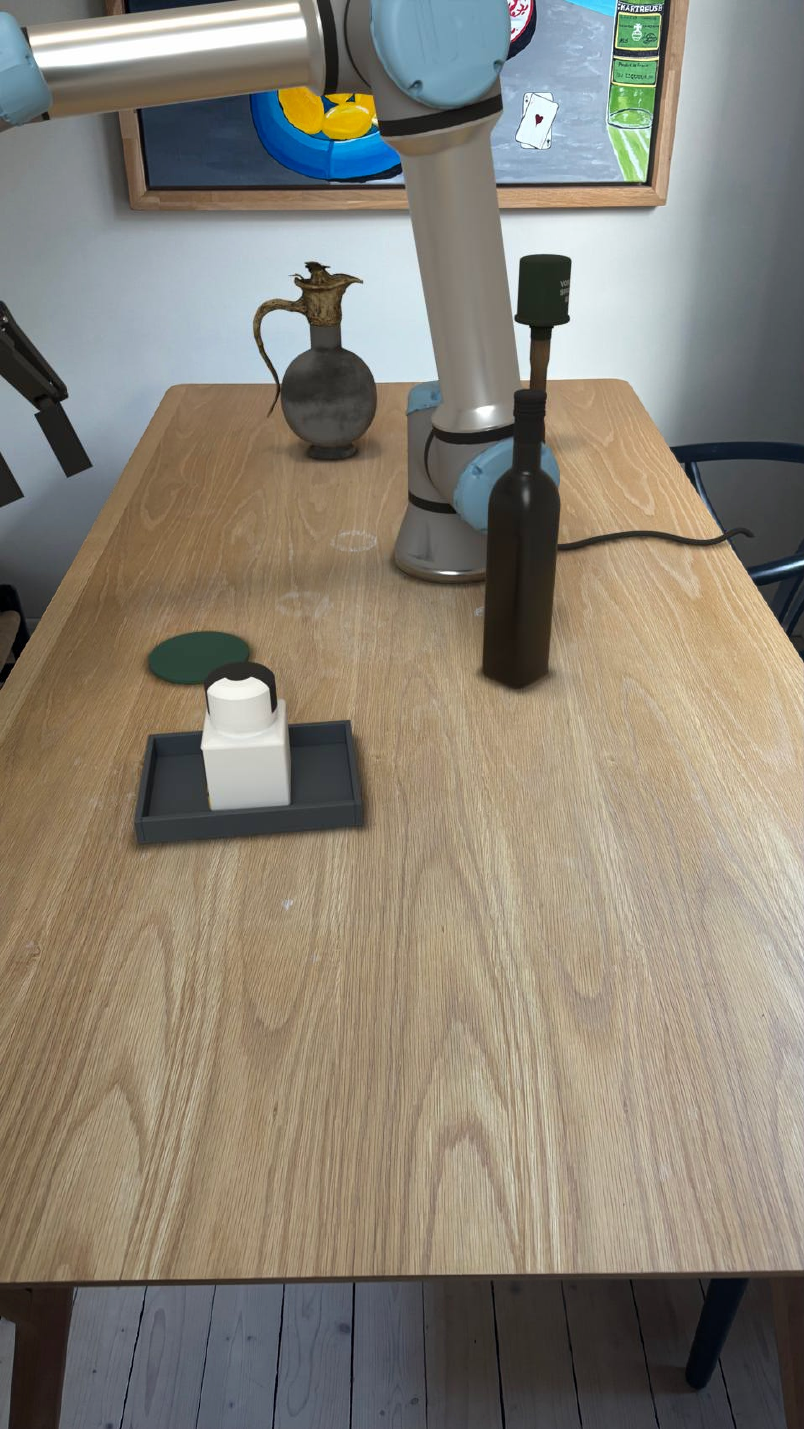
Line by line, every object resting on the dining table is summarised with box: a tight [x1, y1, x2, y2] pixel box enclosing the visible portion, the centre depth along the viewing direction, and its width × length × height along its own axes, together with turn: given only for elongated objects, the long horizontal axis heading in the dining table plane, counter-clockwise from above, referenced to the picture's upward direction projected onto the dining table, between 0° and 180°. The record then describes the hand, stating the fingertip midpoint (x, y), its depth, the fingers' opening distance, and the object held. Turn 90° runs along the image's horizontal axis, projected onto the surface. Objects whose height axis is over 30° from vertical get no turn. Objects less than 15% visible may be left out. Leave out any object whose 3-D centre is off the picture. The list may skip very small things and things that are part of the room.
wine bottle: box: [481, 388, 562, 690], centre depth 102 cm, size 6×6×30 cm
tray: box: [133, 719, 364, 845], centre depth 93 cm, size 19×13×2 cm
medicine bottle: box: [201, 661, 291, 811], centre depth 90 cm, size 7×7×12 cm
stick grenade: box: [513, 253, 573, 444], centre depth 162 cm, size 8×9×30 cm
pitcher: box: [252, 260, 378, 461], centre depth 163 cm, size 11×19×30 cm, turn 97°
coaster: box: [147, 630, 250, 685], centre depth 114 cm, size 11×11×1 cm
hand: (47, 487), depth 94 cm, fingers open, 13 cm apart
